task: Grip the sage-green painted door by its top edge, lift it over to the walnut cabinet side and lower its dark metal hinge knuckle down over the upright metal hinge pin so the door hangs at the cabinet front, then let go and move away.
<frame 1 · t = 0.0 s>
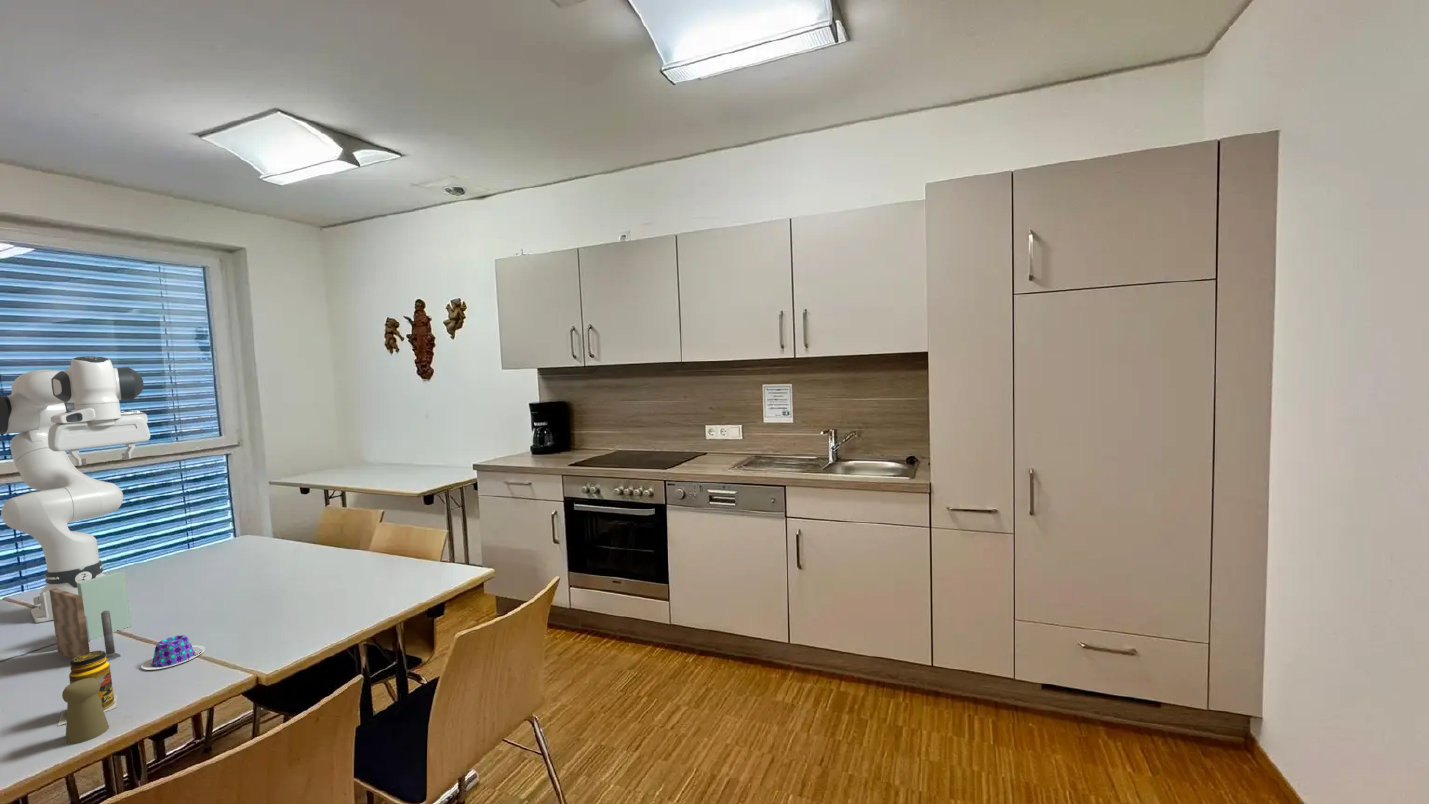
hand: (104, 462, 167), 48 cm above the table, tool pointing down, fingers open, 8 cm apart
purple domed brimmed piece: (174, 660, 149), on the table
condiment: (89, 711, 127), on the table
door: (74, 643, 160), on the table
cork: (87, 735, 118), on the table
cabinet side: (110, 644, 158), on the table
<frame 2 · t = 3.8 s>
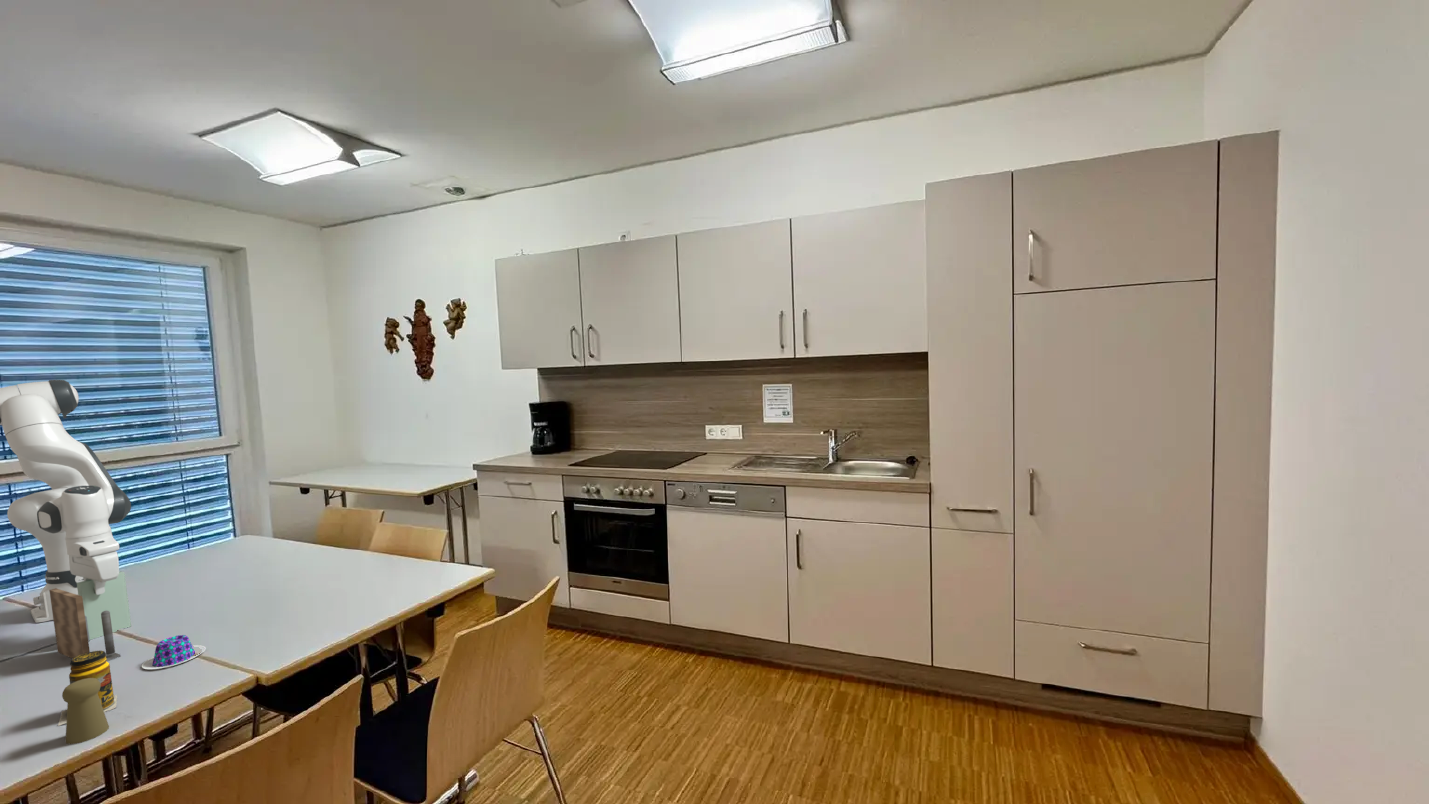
hand: (96, 592, 164), 12 cm above the table, tool pointing down, fingers closed on door, 2 cm apart
door: (74, 643, 160), on the table, touching gripper
everything else where it was.
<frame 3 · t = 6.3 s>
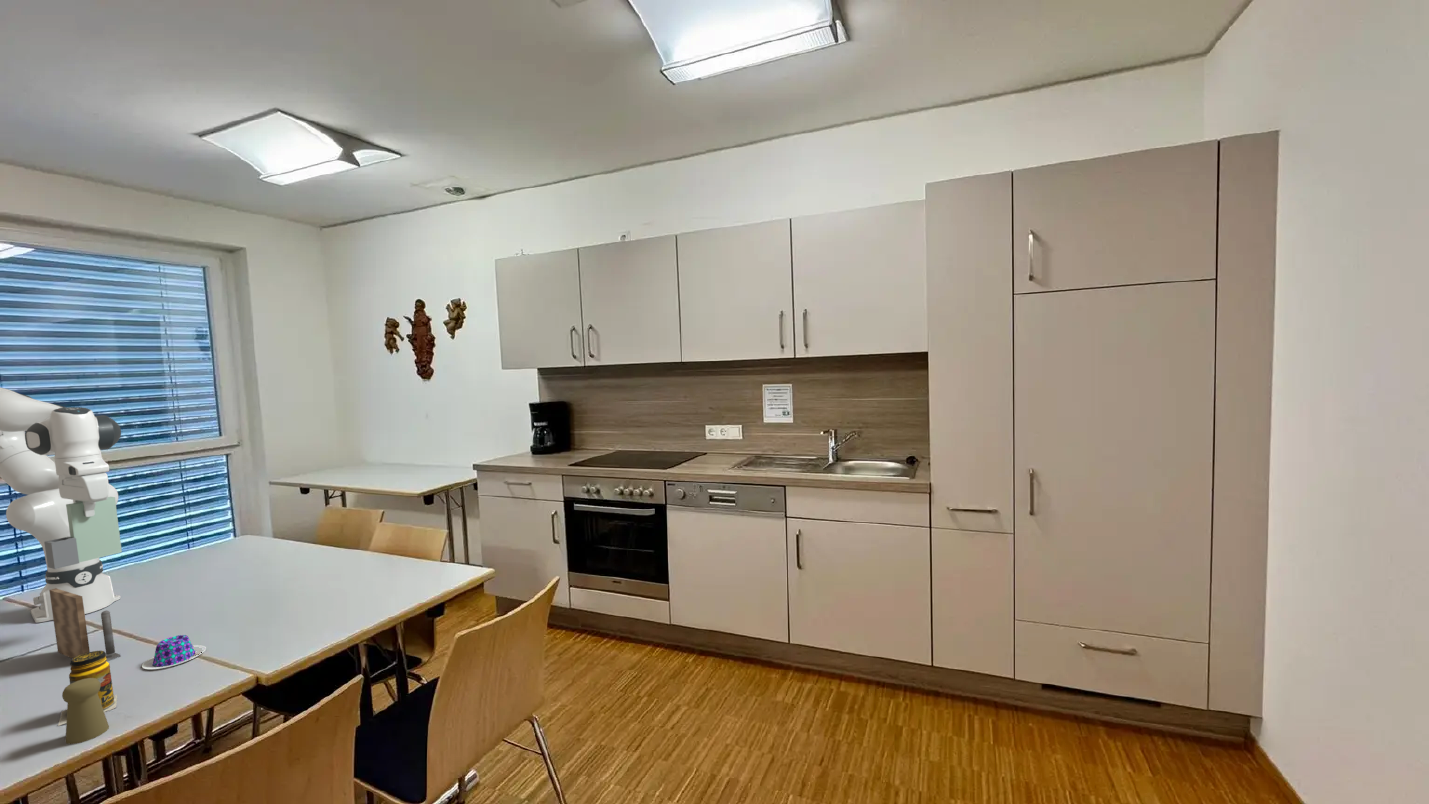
hand: (86, 515, 162), 34 cm above the table, tool pointing down, fingers closed on door, 2 cm apart
door: (63, 565, 158), point 22 cm above the table, touching gripper
everything else where it was.
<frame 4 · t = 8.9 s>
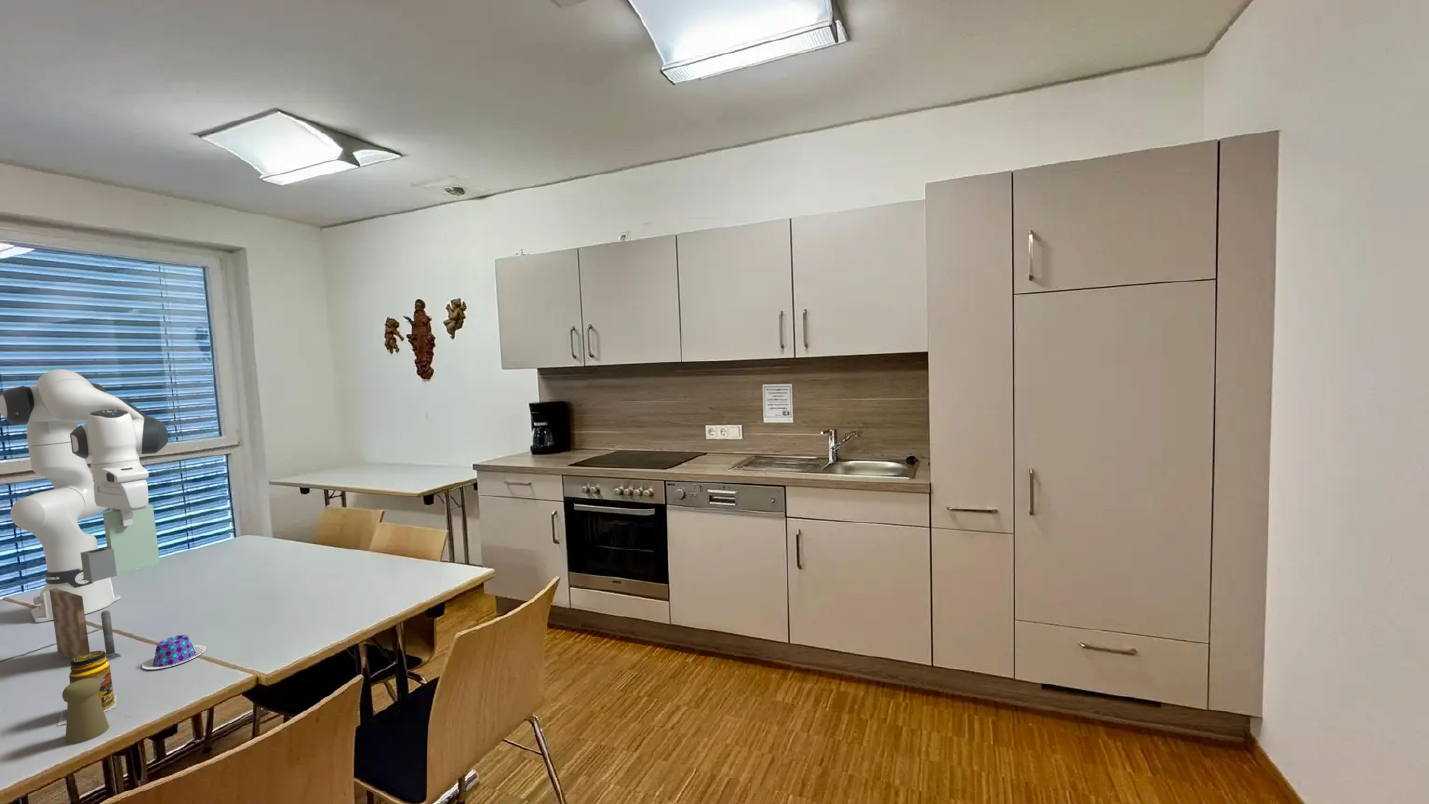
hand: (123, 524, 153), 33 cm above the table, tool pointing down, fingers closed on door, 2 cm apart
door: (100, 577, 149), point 21 cm above the table, touching gripper
everything else where it was.
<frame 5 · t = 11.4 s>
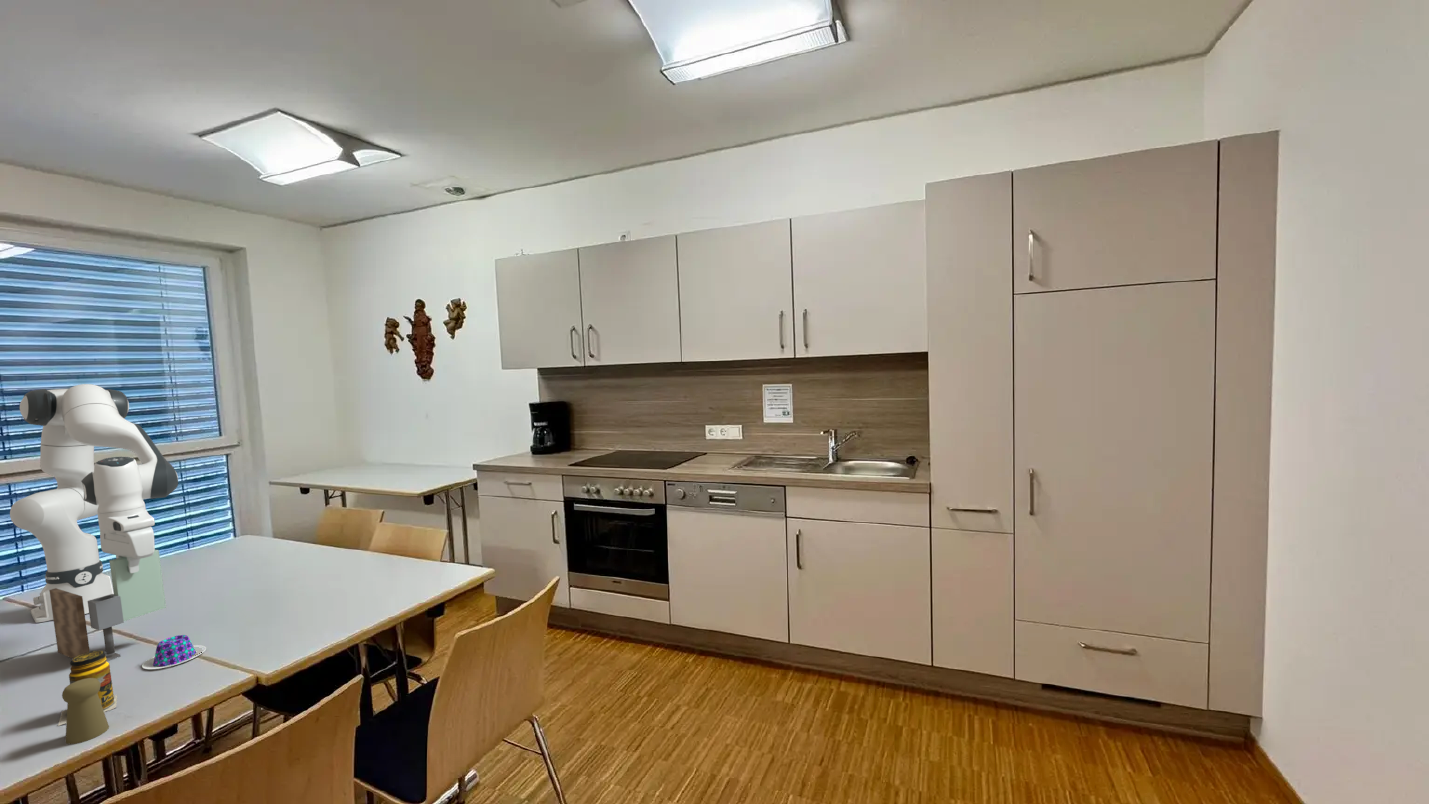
hand: (129, 571, 154), 21 cm above the table, tool pointing down, fingers closed on door, 2 cm apart
door: (107, 625, 150), point 9 cm above the table, touching gripper
everything else where it was.
when the fingers open (14 cm above the table, at t = 13.9 s): door stays where it is, resting on cabinet side.
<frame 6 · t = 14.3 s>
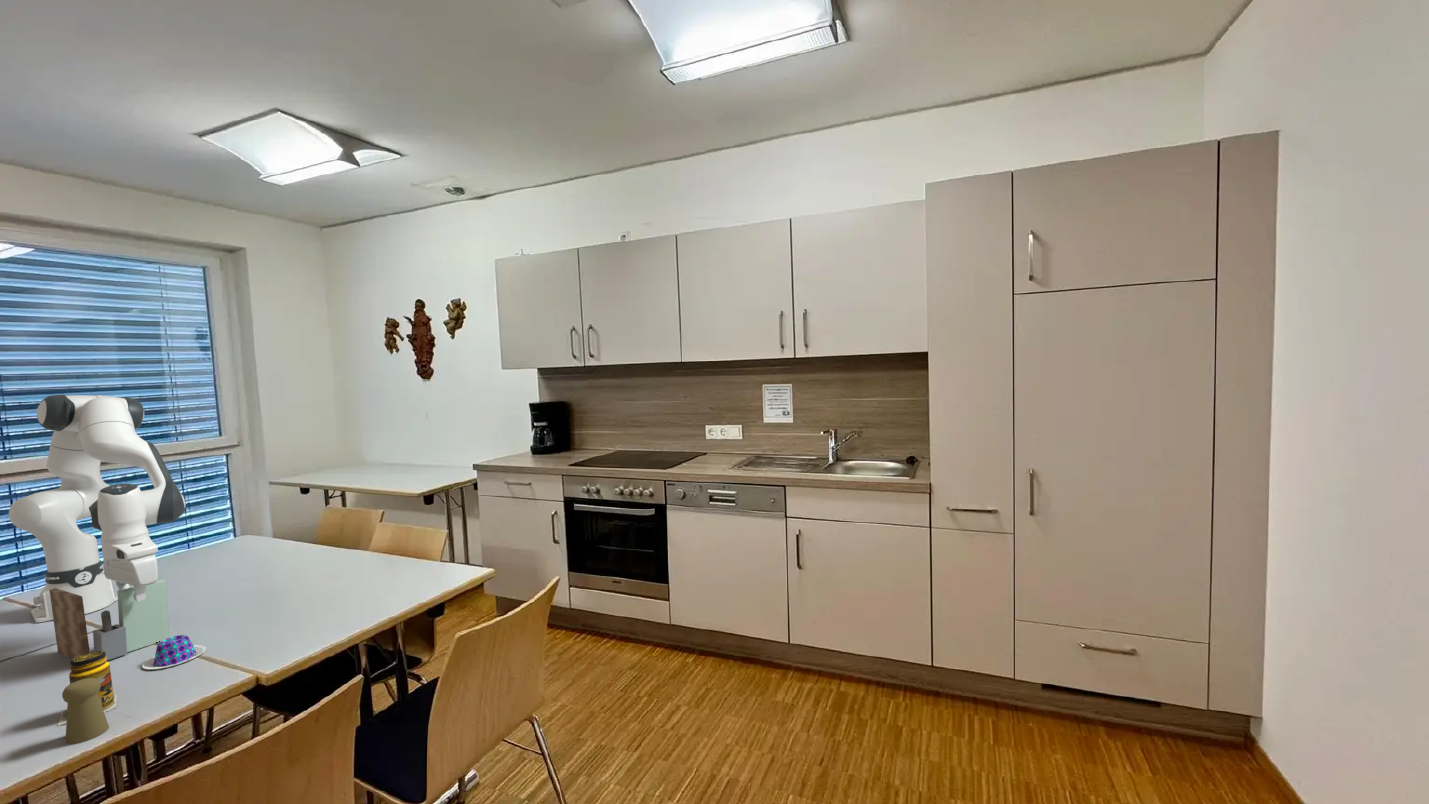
hand: (133, 598, 154), 14 cm above the table, tool pointing down, fingers open, 6 cm apart
door: (110, 655, 151), point 1 cm above the table, touching cabinet side
everything else where it was.
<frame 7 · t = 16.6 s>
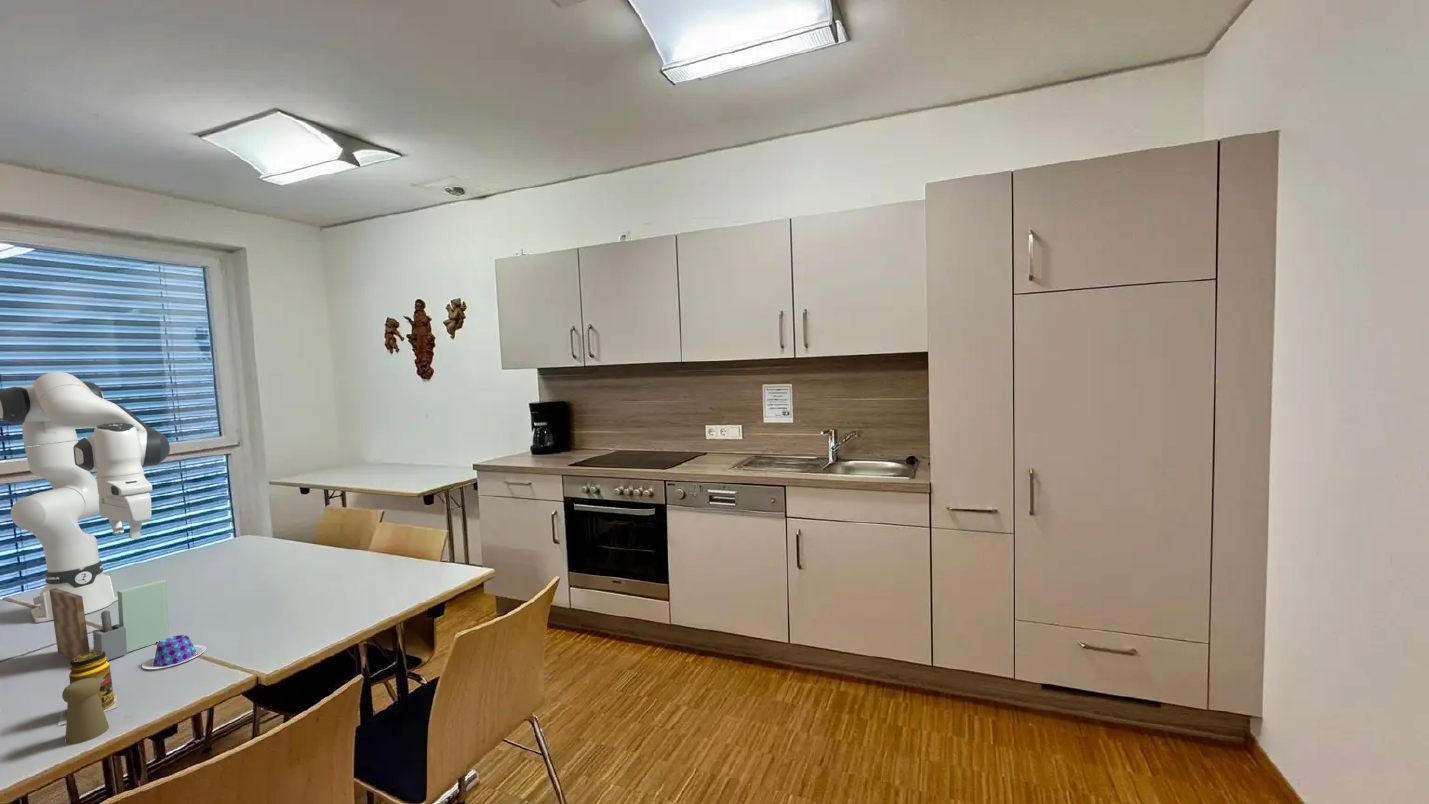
hand: (126, 536, 156), 30 cm above the table, tool pointing down, fingers open, 8 cm apart
nothing on the table moved.
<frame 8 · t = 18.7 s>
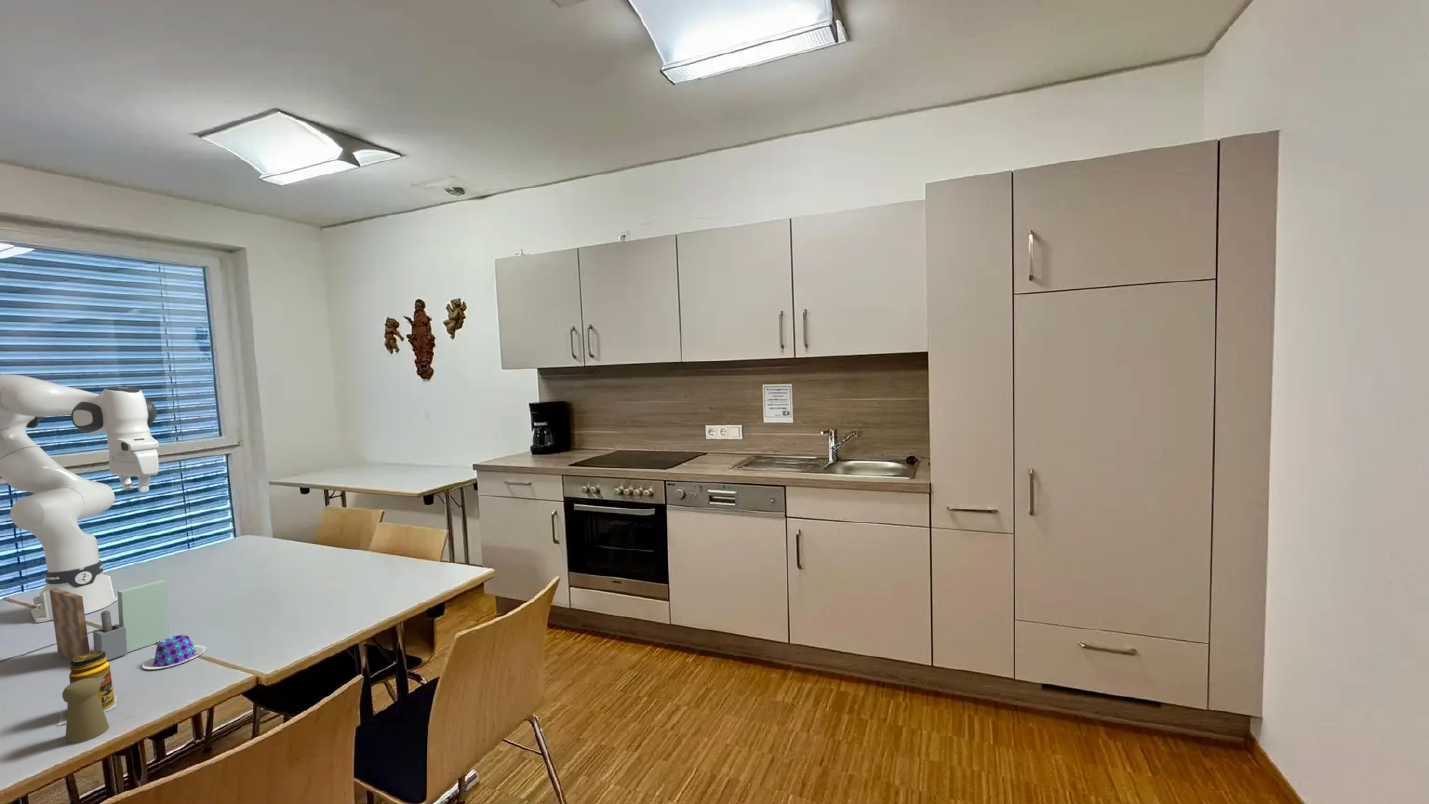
hand: (136, 490, 169), 39 cm above the table, tool pointing down, fingers open, 8 cm apart
at the end: door 0.1 cm from the target spot, point 0.5 cm above the table; door tilted 3°; the gripper is holding nothing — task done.
